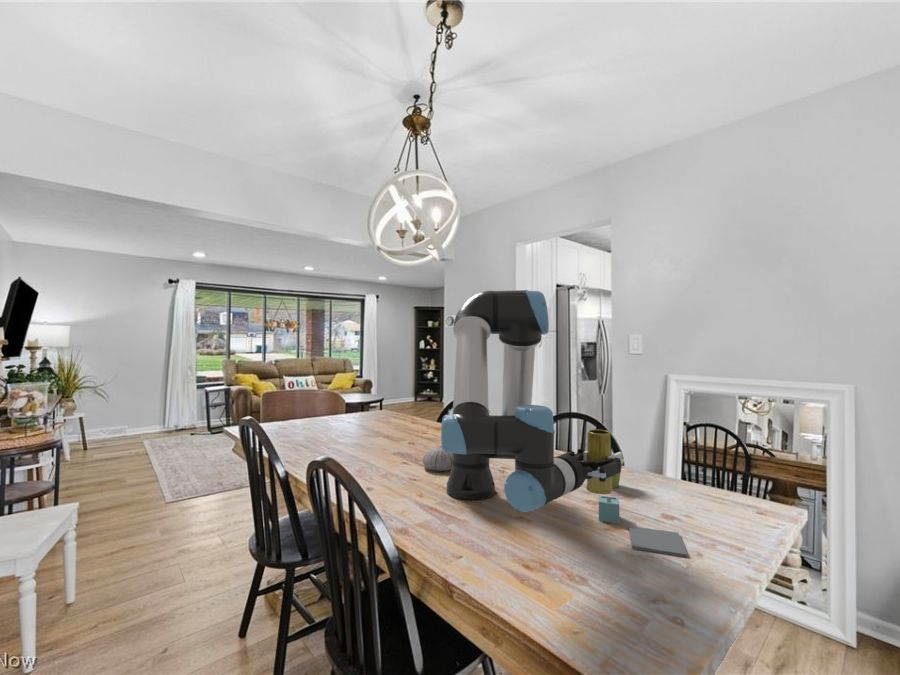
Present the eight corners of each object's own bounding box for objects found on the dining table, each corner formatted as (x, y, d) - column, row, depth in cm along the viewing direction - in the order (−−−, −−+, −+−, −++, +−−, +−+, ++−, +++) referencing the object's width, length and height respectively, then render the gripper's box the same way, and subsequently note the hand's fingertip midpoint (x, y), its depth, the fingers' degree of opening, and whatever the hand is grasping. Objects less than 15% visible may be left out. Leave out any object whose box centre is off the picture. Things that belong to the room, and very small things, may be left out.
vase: (612, 487, 101) (611, 429, 102) (613, 496, 96) (612, 435, 96) (586, 484, 104) (586, 428, 104) (585, 493, 98) (585, 433, 98)
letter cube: (598, 521, 107) (598, 501, 107) (598, 513, 111) (598, 494, 112) (619, 524, 105) (619, 503, 105) (618, 516, 110) (618, 497, 110)
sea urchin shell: (417, 466, 156) (417, 444, 156) (448, 461, 162) (448, 441, 162) (432, 475, 144) (432, 452, 144) (465, 470, 150) (465, 448, 150)
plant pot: (619, 480, 138) (618, 455, 139) (628, 490, 129) (628, 463, 129) (590, 479, 139) (590, 454, 140) (597, 489, 130) (597, 462, 130)
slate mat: (632, 548, 92) (632, 545, 92) (628, 528, 102) (628, 525, 102) (687, 557, 88) (687, 554, 88) (678, 535, 99) (678, 532, 99)
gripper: (524, 482, 94) (575, 462, 110) (602, 505, 81) (646, 478, 97) (524, 449, 94) (575, 434, 110) (602, 467, 81) (646, 446, 97)
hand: (608, 455), depth 103 cm, fingers closed on vase, 5 cm apart
